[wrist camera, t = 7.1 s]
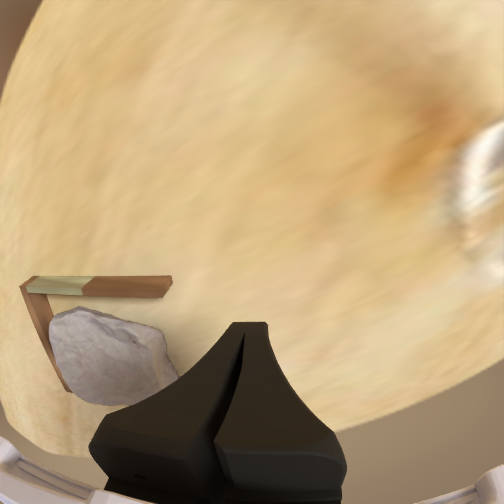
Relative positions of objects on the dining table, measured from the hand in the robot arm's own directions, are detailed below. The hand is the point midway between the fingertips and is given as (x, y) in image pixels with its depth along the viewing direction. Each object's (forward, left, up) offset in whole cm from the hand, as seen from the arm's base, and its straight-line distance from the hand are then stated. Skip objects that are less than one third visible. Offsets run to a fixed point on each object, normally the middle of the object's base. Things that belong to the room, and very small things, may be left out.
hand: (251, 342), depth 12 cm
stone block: (-9, +14, -10) cm, 20 cm away
